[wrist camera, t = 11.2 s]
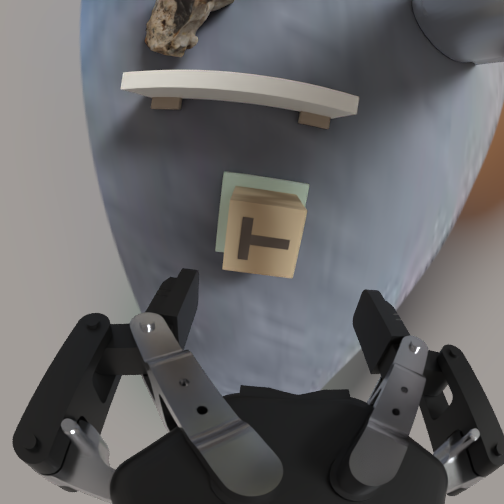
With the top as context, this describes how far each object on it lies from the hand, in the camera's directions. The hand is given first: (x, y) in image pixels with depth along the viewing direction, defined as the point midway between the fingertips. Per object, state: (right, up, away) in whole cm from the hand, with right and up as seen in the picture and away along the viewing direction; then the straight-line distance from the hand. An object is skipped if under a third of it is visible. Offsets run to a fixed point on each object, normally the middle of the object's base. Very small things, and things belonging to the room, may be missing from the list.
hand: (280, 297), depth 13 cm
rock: (-6, +23, +3) cm, 24 cm away
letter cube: (-1, +5, +10) cm, 11 cm away
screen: (-2, +15, +6) cm, 16 cm away
